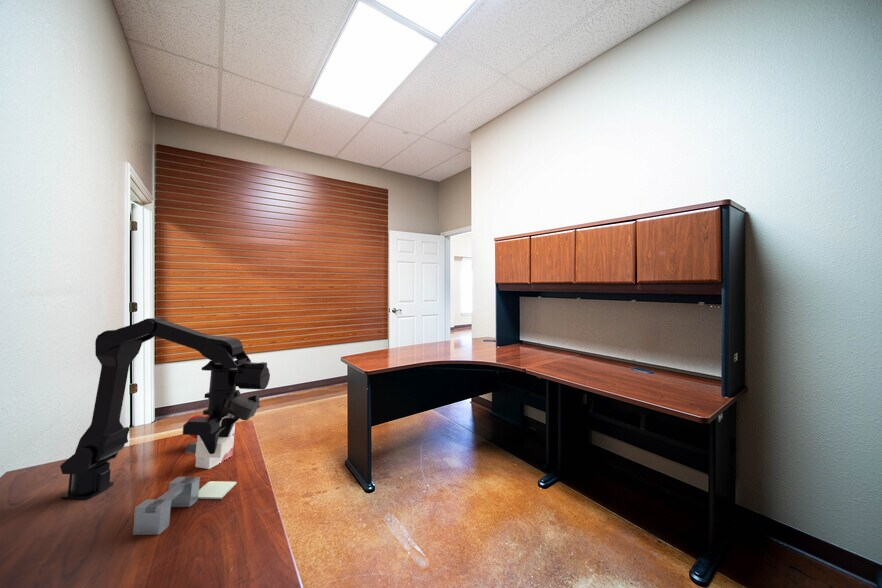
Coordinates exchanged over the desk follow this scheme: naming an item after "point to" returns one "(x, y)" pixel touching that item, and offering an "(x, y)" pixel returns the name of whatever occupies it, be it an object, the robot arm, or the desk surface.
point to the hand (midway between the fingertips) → (217, 449)
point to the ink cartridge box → (211, 462)
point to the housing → (165, 506)
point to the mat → (215, 489)
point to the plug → (202, 451)
